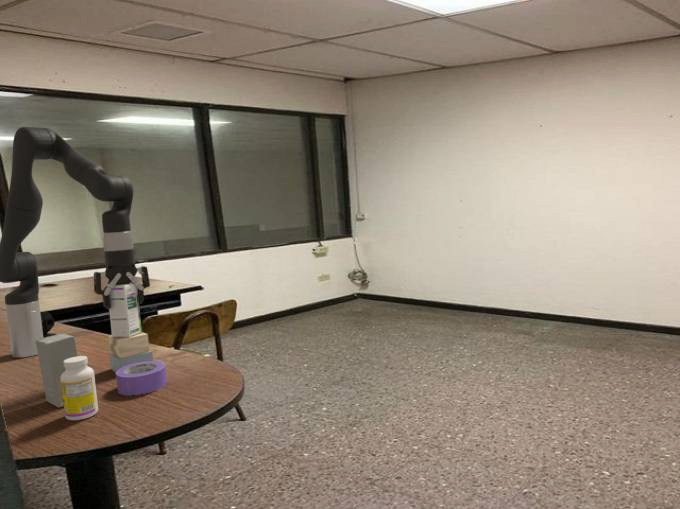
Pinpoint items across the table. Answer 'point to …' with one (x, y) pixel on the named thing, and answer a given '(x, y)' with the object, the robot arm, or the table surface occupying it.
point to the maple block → (129, 345)
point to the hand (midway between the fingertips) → (124, 305)
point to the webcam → (47, 324)
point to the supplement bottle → (78, 389)
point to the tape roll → (141, 378)
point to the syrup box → (124, 311)
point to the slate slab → (129, 360)
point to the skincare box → (54, 363)
